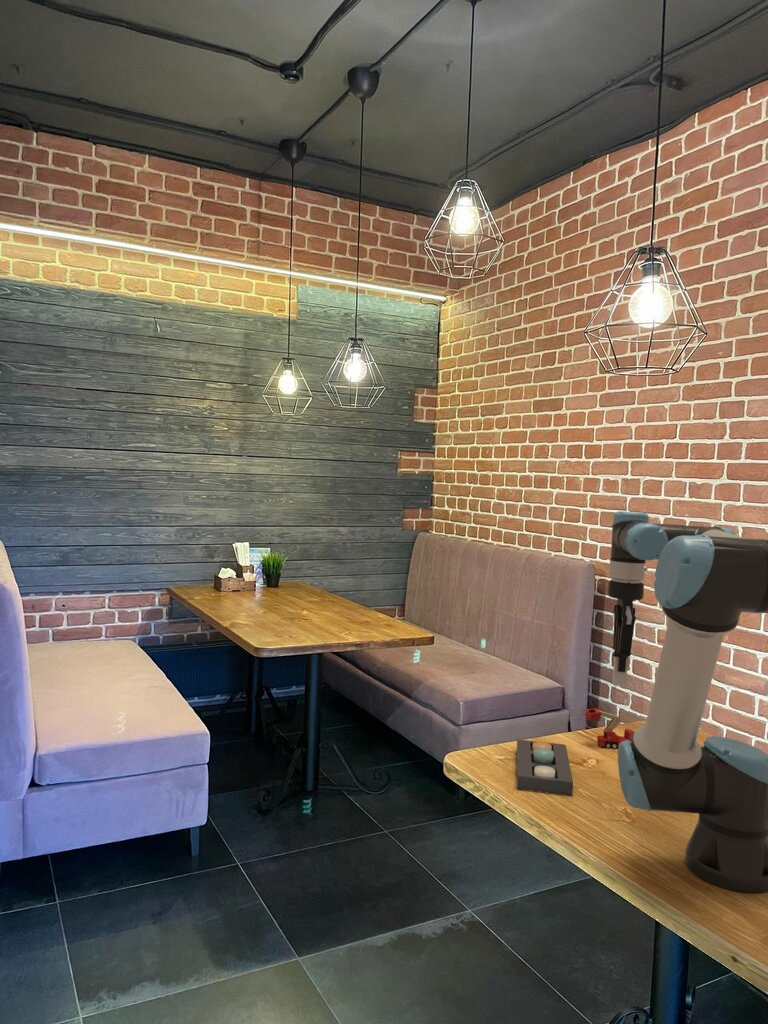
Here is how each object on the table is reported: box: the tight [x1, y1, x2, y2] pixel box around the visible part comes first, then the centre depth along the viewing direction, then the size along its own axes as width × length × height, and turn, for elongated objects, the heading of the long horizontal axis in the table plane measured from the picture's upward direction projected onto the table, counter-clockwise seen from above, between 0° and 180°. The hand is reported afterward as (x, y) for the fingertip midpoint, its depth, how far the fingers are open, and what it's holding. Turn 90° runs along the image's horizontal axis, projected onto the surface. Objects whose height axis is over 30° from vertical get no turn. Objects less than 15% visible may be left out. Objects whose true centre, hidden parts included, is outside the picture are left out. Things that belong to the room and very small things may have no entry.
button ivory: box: [534, 766, 555, 778], centre depth 171 cm, size 5×5×3 cm
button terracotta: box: [532, 741, 552, 751], centre depth 187 cm, size 5×5×3 cm
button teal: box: [533, 748, 554, 765], centre depth 179 cm, size 5×5×3 cm
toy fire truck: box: [585, 707, 635, 749], centre depth 199 cm, size 3×14×10 cm, turn 94°
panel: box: [515, 738, 574, 797], centre depth 179 cm, size 24×12×3 cm, turn 170°
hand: (619, 684), depth 170 cm, fingers closed
